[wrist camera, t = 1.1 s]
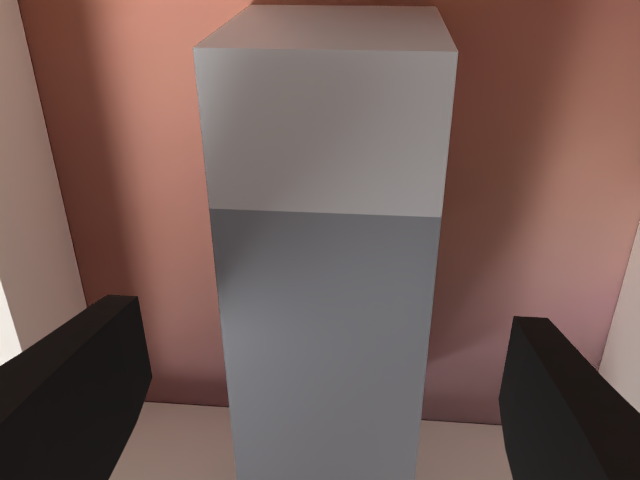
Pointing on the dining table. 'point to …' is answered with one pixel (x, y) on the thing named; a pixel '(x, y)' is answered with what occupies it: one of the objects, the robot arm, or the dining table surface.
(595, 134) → the dining table surface
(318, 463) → the box
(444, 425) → the cream square frame
